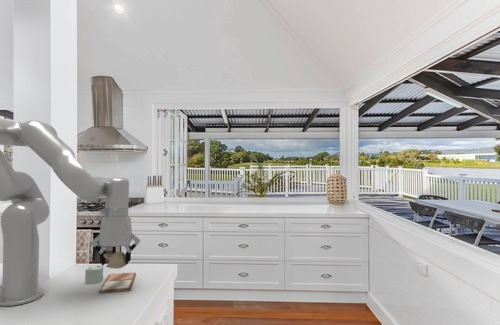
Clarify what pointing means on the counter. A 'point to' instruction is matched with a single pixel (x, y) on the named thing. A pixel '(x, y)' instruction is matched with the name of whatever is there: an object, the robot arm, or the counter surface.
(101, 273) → the die
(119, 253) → the decorative ornament
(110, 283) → the brown framed panel
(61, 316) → the counter surface
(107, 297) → the counter surface
